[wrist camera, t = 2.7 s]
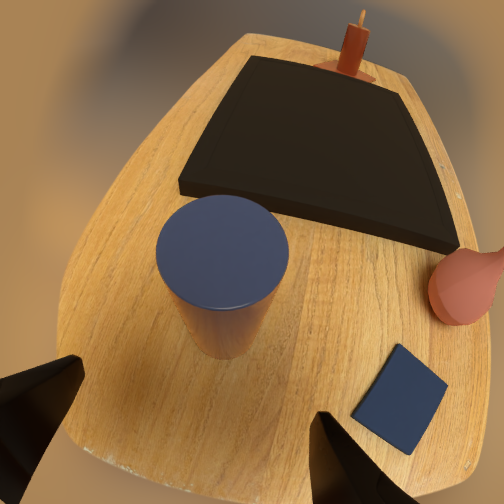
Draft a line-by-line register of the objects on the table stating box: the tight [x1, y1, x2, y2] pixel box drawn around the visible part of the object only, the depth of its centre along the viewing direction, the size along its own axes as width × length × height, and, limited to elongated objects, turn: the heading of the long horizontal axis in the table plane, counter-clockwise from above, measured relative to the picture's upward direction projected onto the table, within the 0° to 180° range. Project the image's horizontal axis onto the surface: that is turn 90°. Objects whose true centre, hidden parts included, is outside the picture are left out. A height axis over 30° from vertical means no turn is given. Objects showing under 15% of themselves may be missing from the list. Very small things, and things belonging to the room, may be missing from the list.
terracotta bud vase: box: [428, 247, 504, 326], centre depth 19 cm, size 8×8×12 cm
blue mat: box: [351, 343, 448, 455], centre depth 19 cm, size 8×8×1 cm
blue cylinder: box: [156, 195, 289, 360], centre depth 16 cm, size 5×5×13 cm
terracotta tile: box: [314, 60, 376, 83], centre depth 52 cm, size 12×12×1 cm
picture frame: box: [178, 55, 460, 255], centre depth 37 cm, size 40×2×33 cm
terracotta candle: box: [336, 10, 370, 76], centre depth 44 cm, size 5×5×18 cm
